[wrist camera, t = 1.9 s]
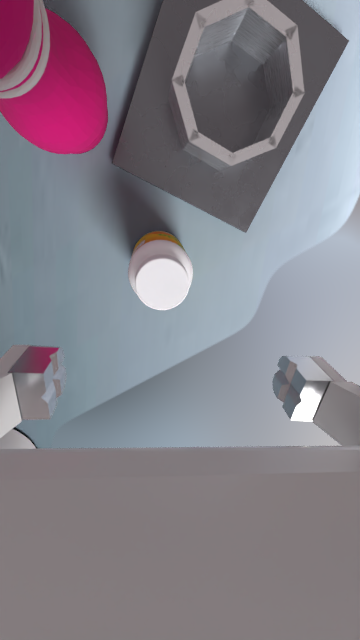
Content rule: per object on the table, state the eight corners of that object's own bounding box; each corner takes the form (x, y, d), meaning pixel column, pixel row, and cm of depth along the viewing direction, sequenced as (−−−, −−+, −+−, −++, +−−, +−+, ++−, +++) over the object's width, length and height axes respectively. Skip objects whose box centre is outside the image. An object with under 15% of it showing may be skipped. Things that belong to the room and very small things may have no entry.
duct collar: (242, 231, 27) (261, 238, 23) (113, 164, 23) (104, 157, 19) (340, 47, 22) (390, 8, 17) (190, -80, 18) (204, -173, 13)
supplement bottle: (194, 250, 28) (214, 275, 19) (165, 290, 29) (171, 330, 20) (151, 218, 26) (152, 230, 17) (123, 263, 27) (110, 294, 19)
